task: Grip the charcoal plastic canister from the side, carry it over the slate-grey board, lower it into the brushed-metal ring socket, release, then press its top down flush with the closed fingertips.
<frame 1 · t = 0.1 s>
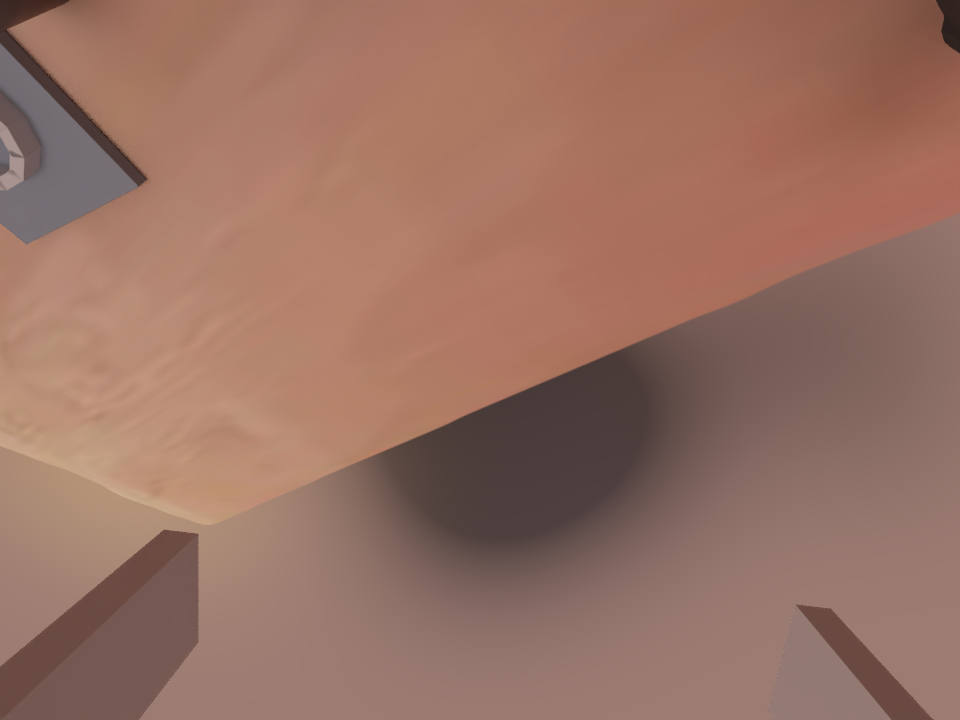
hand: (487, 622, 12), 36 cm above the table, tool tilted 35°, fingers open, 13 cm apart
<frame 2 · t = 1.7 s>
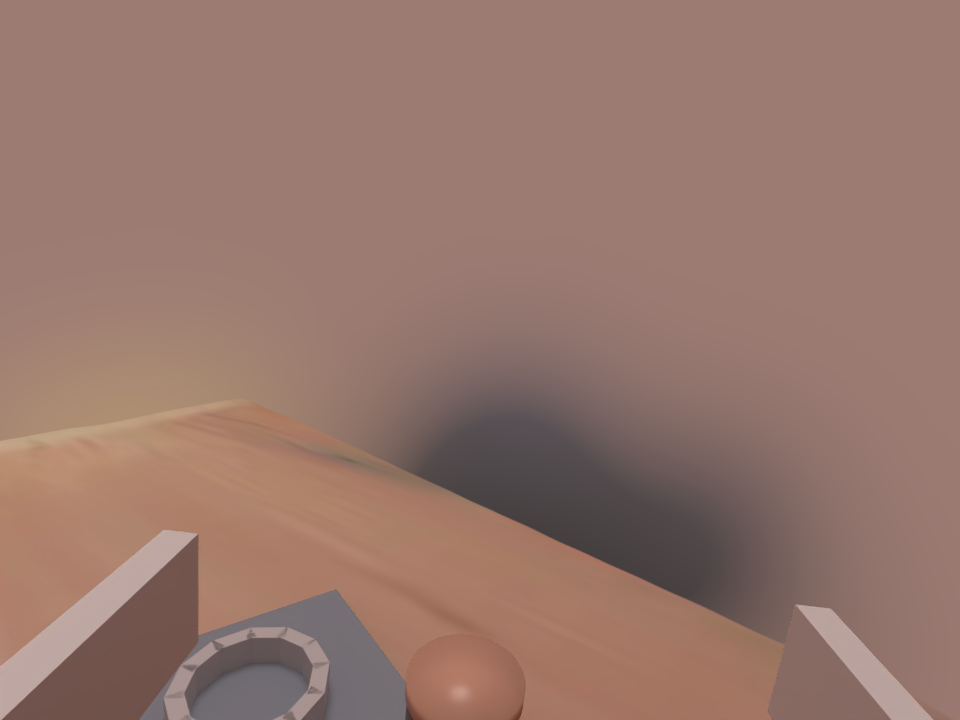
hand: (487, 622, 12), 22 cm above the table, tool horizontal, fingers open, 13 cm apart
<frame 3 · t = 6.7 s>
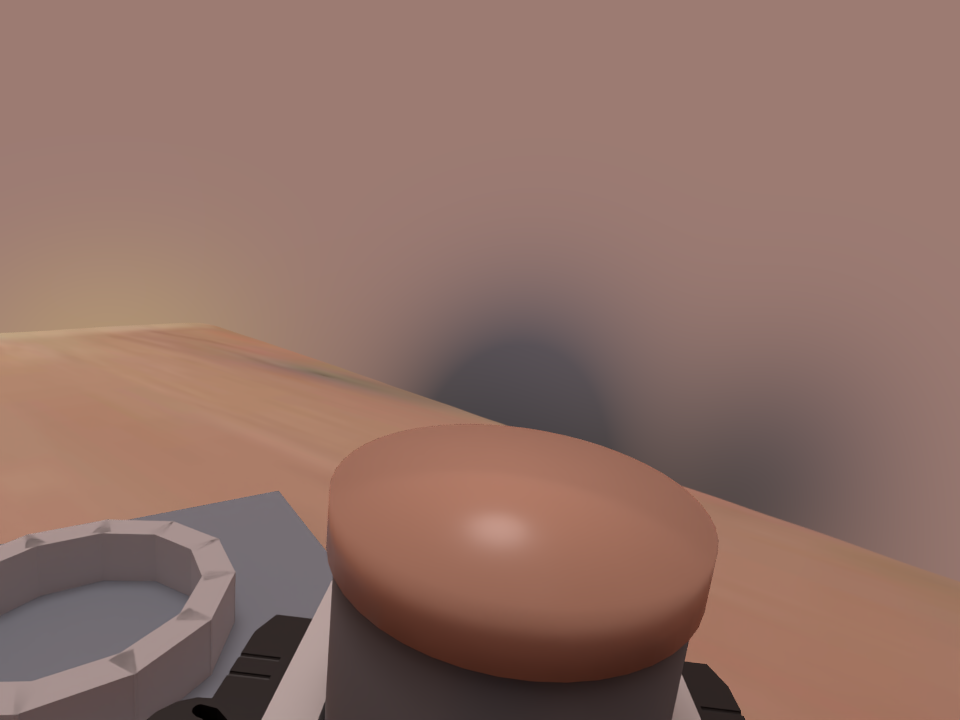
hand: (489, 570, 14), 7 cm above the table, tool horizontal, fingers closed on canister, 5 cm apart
board: (77, 679, 18), on the table
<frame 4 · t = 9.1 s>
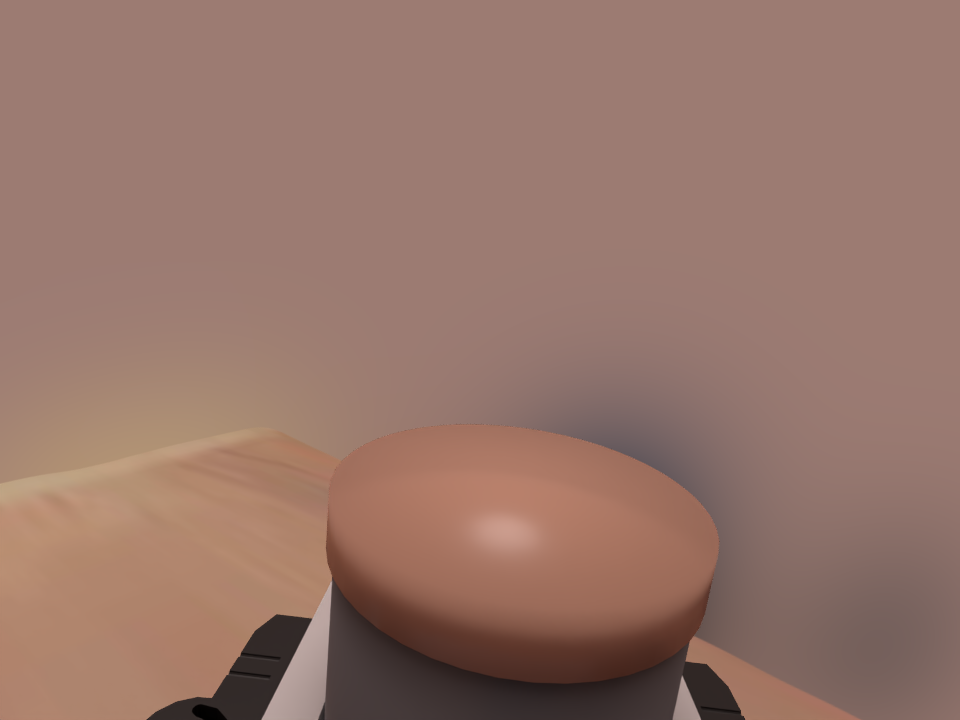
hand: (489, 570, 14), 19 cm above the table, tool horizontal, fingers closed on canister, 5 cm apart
when the fingers open (9 cm above the table, at t = 11.5 s): canister stays where it is, resting on board.
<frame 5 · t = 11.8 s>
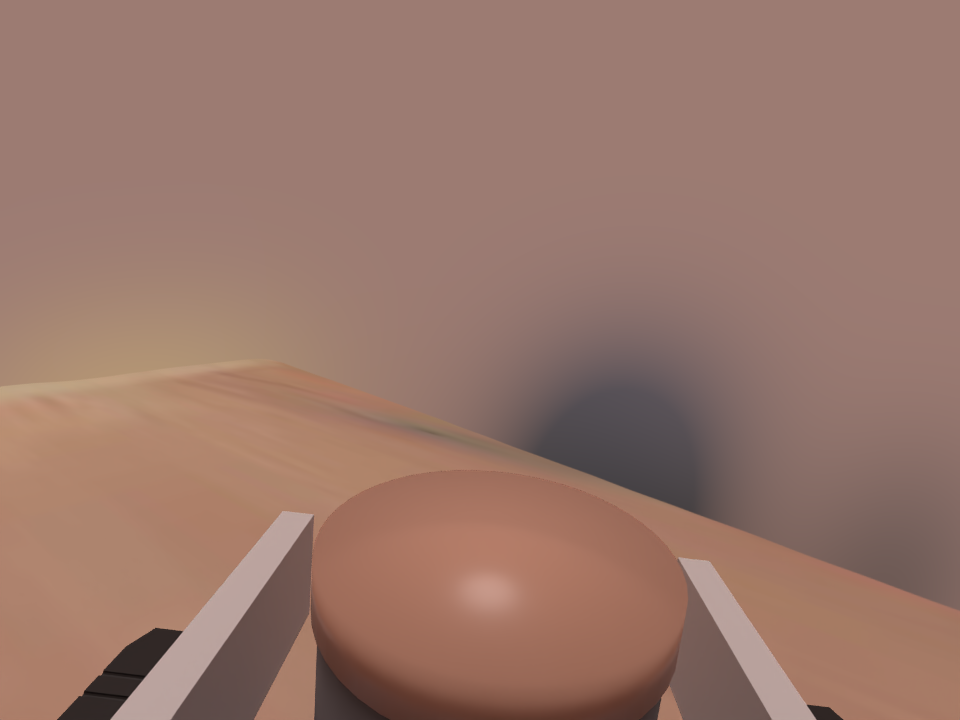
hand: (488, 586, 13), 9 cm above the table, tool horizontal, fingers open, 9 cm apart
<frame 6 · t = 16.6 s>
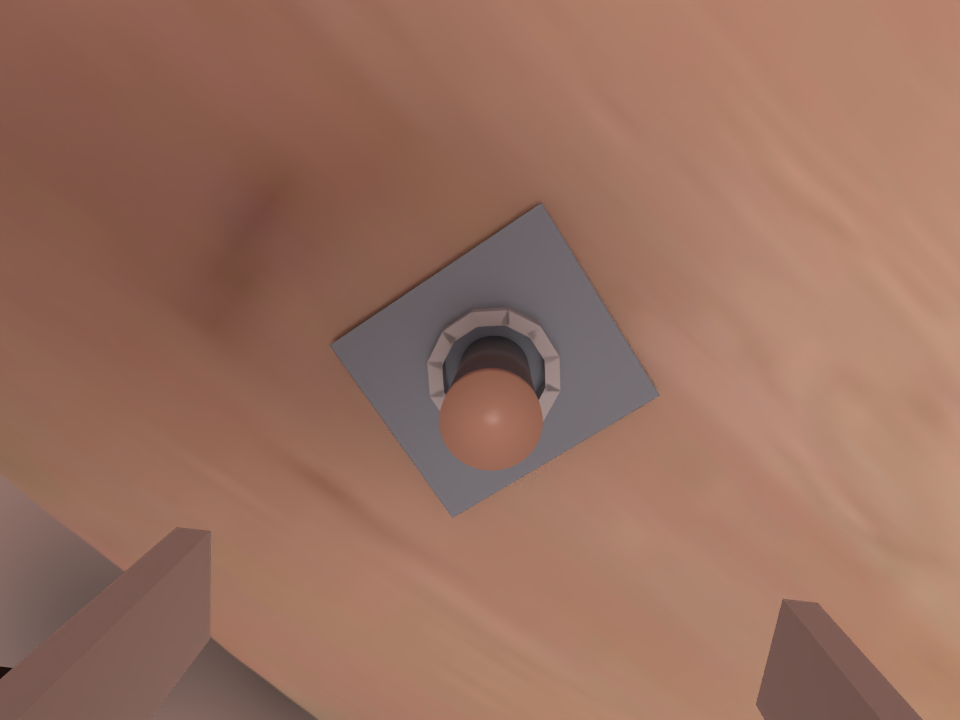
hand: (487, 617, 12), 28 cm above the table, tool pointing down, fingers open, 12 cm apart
board: (494, 366, 40), on the table
canister: (494, 369, 39), point 1 cm above the table, touching board
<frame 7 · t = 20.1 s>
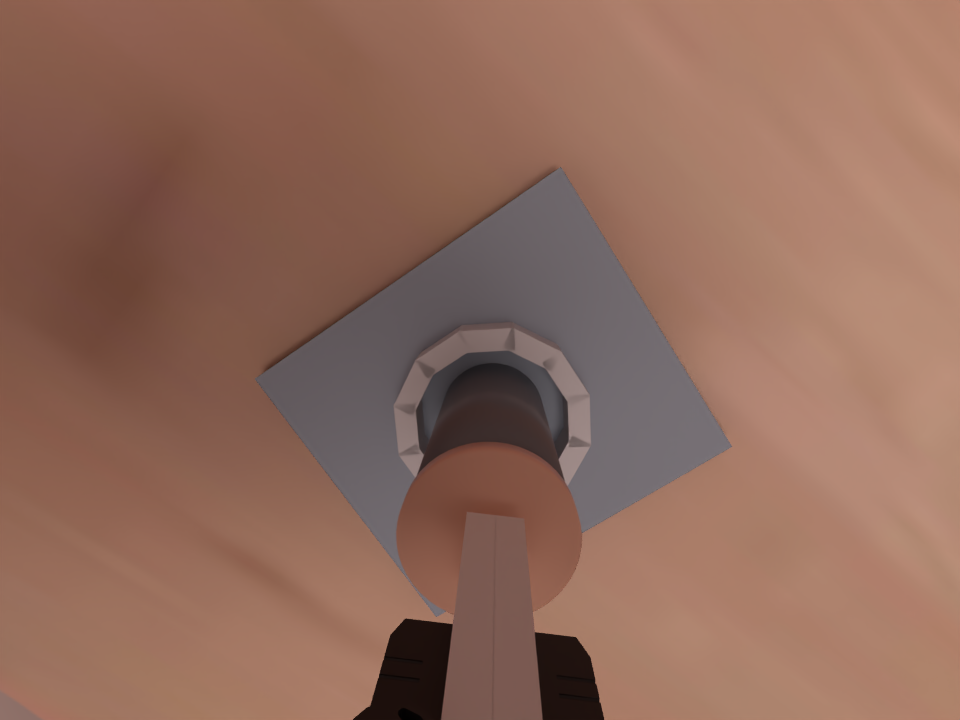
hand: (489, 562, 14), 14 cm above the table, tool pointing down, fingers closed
board: (493, 405, 28), on the table
canister: (492, 411, 27), point 1 cm above the table, touching board
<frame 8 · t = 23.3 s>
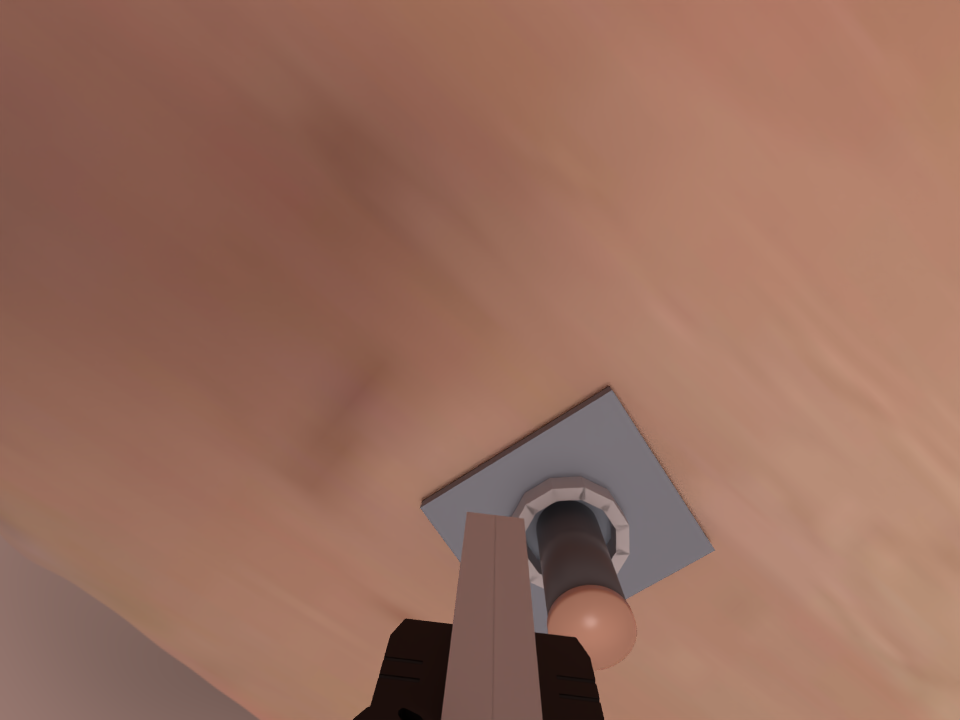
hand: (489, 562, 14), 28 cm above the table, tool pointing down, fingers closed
board: (565, 521, 44), on the table
canister: (567, 528, 43), point 1 cm above the table, touching board
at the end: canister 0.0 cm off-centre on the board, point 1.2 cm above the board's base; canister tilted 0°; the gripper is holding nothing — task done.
